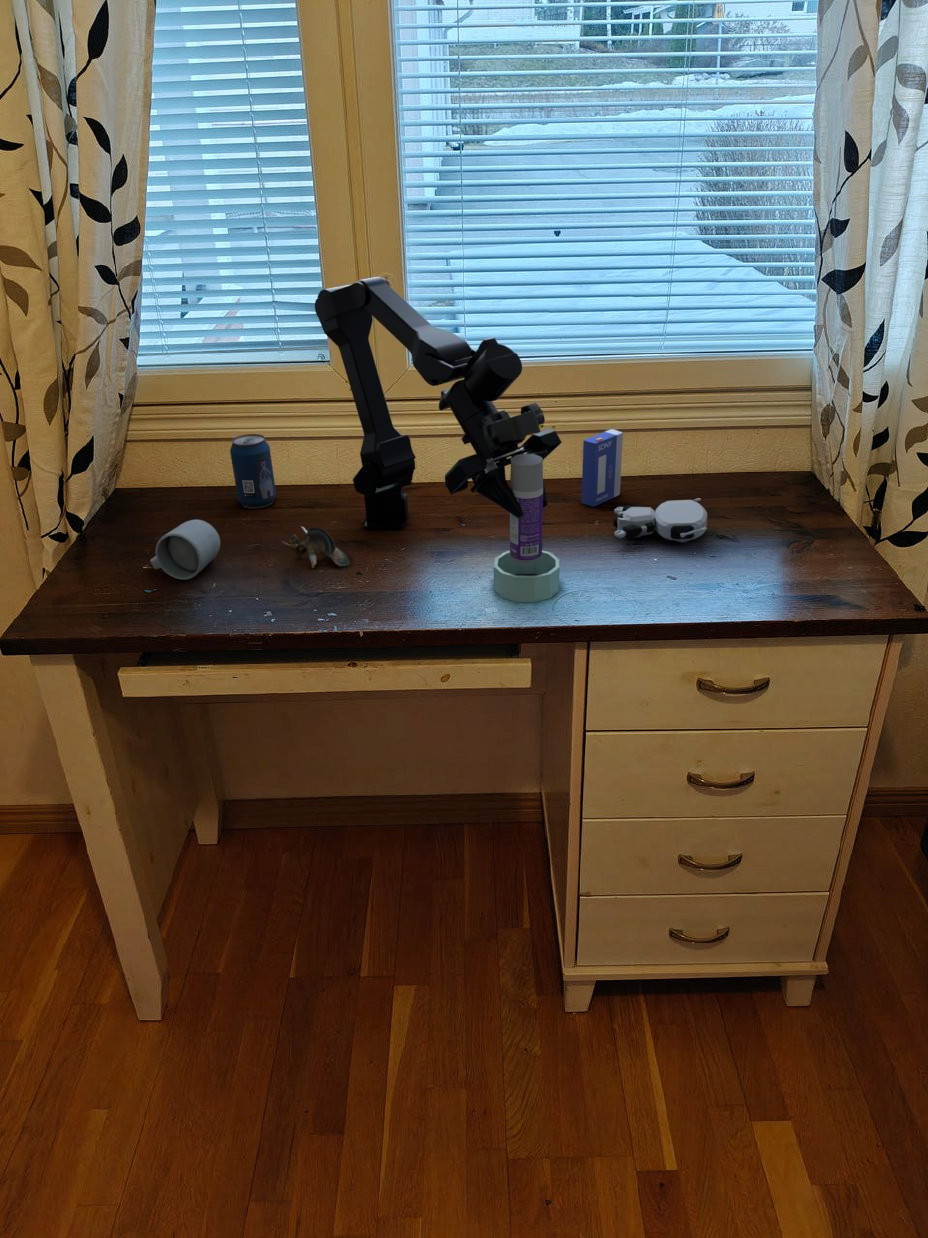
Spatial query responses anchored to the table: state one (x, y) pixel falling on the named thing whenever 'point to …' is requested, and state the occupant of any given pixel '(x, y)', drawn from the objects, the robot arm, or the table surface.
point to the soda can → (253, 471)
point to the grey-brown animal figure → (317, 546)
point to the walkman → (601, 467)
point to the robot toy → (662, 520)
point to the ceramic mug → (187, 549)
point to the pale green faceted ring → (526, 578)
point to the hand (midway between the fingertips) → (533, 511)
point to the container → (527, 508)
